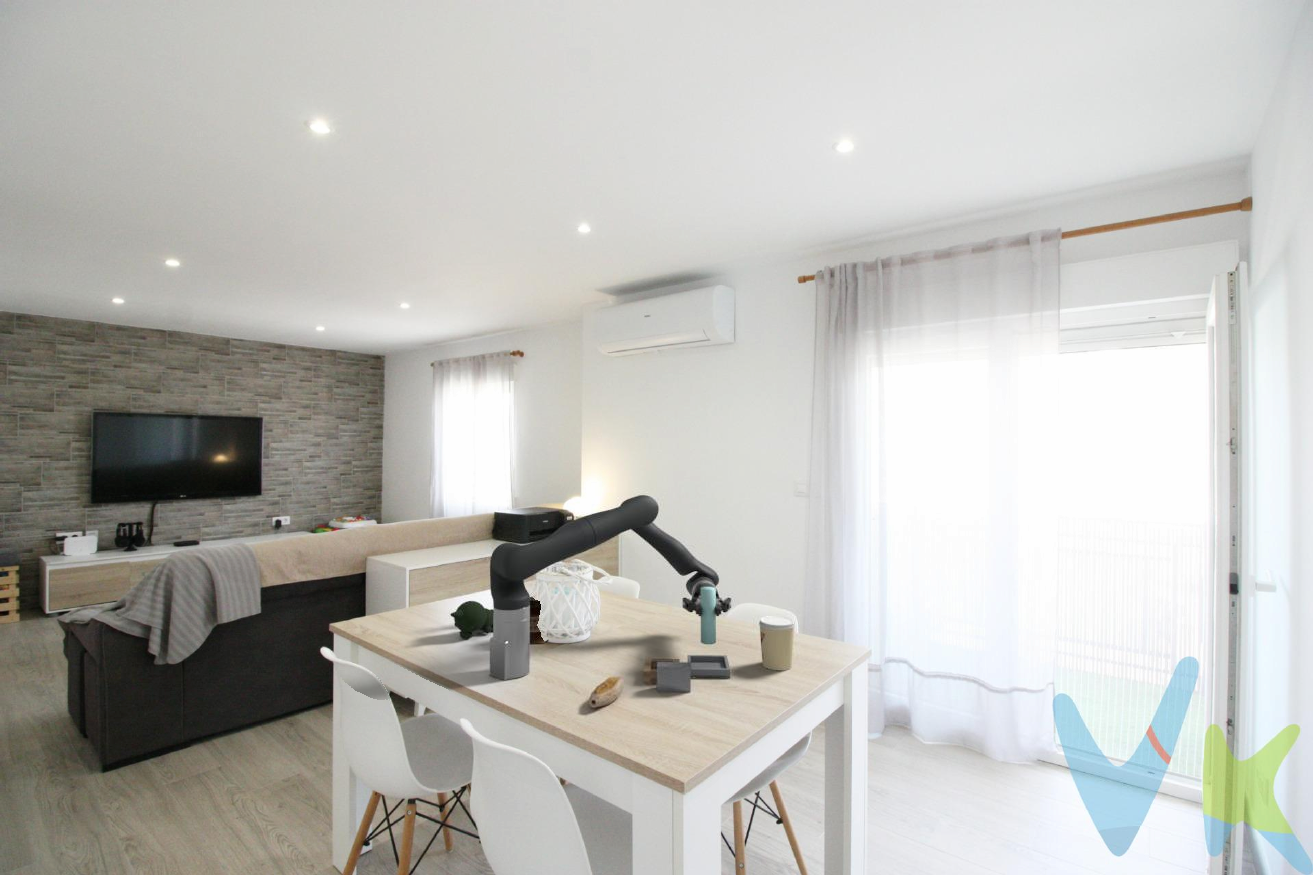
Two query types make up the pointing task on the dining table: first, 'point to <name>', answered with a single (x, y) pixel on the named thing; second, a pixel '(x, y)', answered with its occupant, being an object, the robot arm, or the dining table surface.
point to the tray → (709, 666)
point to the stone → (606, 692)
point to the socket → (653, 669)
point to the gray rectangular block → (673, 677)
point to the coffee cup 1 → (535, 621)
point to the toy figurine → (472, 619)
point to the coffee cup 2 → (777, 642)
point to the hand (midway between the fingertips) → (708, 612)
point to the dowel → (708, 615)
